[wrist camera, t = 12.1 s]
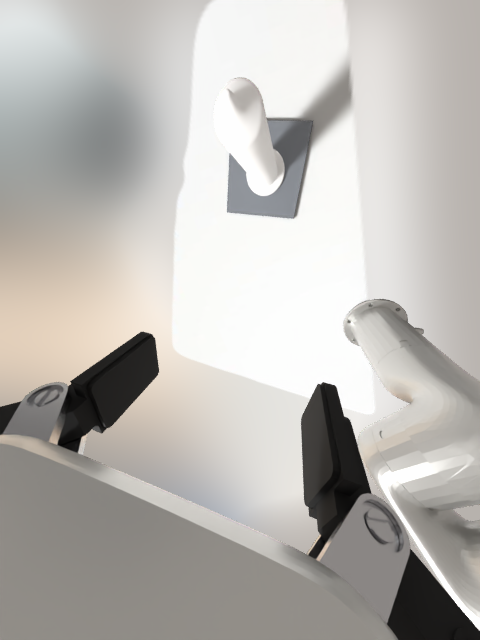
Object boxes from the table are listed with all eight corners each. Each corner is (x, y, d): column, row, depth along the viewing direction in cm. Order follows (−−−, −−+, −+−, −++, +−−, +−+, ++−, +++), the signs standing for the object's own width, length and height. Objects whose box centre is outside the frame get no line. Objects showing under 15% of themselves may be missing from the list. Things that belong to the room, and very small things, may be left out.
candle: (283, 143, 32) (271, -22, 10) (286, 190, 35) (281, 140, 13) (244, 155, 34) (166, 40, 12) (250, 200, 37) (196, 168, 15)
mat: (312, 123, 30) (313, 120, 30) (293, 218, 37) (293, 218, 37) (232, 122, 33) (230, 120, 32) (228, 212, 40) (227, 212, 39)
